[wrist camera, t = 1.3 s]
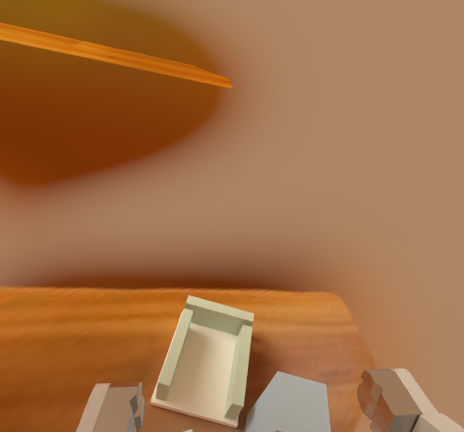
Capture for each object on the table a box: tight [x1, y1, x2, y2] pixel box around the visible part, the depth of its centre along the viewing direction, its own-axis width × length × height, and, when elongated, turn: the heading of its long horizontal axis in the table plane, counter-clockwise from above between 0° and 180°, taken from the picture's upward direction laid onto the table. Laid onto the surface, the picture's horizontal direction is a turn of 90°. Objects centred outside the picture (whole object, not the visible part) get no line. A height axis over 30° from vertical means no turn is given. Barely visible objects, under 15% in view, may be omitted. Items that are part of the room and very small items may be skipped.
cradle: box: [150, 295, 254, 428], centre depth 42 cm, size 12×14×6 cm
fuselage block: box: [245, 371, 331, 432], centre depth 33 cm, size 6×6×14 cm
